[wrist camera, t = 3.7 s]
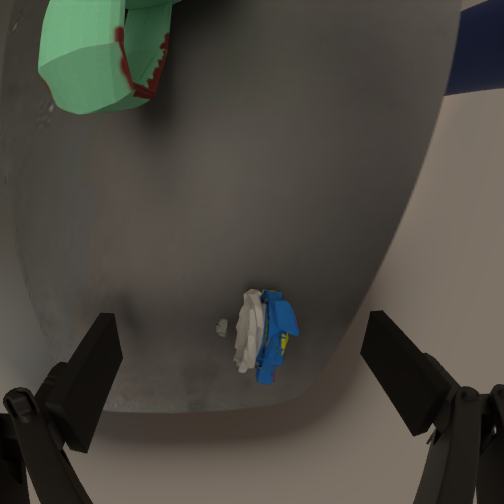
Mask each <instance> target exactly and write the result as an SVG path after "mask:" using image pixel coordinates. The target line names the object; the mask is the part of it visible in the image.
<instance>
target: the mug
mask: <svg viewBox="0 0 504 504" xmlns="http://www.w3.org/2000/svg"><path fill="white" fill-rule="evenodd" d="M180 1H182V0H50V2H49V5H48V8H47V11H46V14H45V18H44V21H43V26H42V34H41V42H40V51H39V62H38V72H39V74H40V76H41V78H42V79H43V81H44V83H45V85H46V87H47V89H48V90H49V92H50V94H51V96H52V98H53V99H54V101H55V103H56V105H57V106H58V107H59V108H61V109H63V110H65V111H68V112H71V113H75V114H89V113H101V112H115V111H122V110H127V109H132V108H136V107H138V106H140V105H142V104H144V103H146V102H148V101H150V100H151V99H152V98H154V97H155V94H156V90H157V86H158V83H159V79H160V75H161V72H162V68H163V65H164V62H165V59H166V55H167V52H168V43H169V31H170V21H171V12H172V5H174V4H176V3H178V2H180ZM125 9H129V10H128V14H127V18H126V22H125V26H124V21H125Z"/></svg>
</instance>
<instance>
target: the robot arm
mask: <svg viewBox="0 0 504 504" xmlns="http://www.w3.org/2000/svg"><path fill="white" fill-rule="evenodd" d="M360 354H361V355H362V357H363V358H364V360H365V361H366V363H367V364H368V366H369V368H370V369H371V371H372V372H373V373H374V375H375V377H376V378H377V380H378V381H379V383H380V384H381V386H382V388H383V389H384V391H385V392H386V394H387V395H388V397H389V398H390V400H391V402H392V403H393V405H394V406H395V408H396V409H397V411H398V413H399V414H400V416H401V417H402V419H403V421H404V422H405V424H406V425H407V427H408V429H409V430H410V432H411V434H412V435H413V436H416V435H420V434H422V433H425V432H427V431H428V429H429V428H430V426H431V424H432V423H433V424H434V426H435V427H436V429H435V430H434V432H433V433H432V435H431V436H430V438H429V440H428V441H427V443H426V444H429V442H430V441H431V444H430V448H429V452H428V456H427V460H426V464H425V467H424V471H423V474H422V477H421V481H420V484H419V487H418V490H417V493H416V496H415V499H414V502H413V504H473V498H474V493H475V486H476V495H477V504H504V385H502V384H497V385H495V386H494V387H493V389H492V391H491V392H490V394H479V392H477V391H476V390H475V389H473V388H471V387H466V386H463V387H461V386H460V385H459V384H458V383H457V382H456V381H455V380H454V379H453V378H452V377H451V375H450V374H449V373H448V372H447V371H446V370H445V369H444V368H443V366H442V365H441V366H440V363H439V362H438V361H437V360H436V359H435V358H434V357H432V356H431V355H429V354H427V353H422V352H421V351H420V350H419V349H418V348H417V347H416V346H415V344H413V342H412V341H411V340H410V339H409V338H408V337H407V336H406V335H405V334H404V333H403V331H402V330H401V329H400V328H399V327H398V326H397V325H396V324H395V323H394V322H393V321H392V320H391V319H390V318H389V317H388V316H387V315H386V314H385V313H384V311H383V310H381V311H371V312H370V316H369V320H368V324H367V329H366V333H365V337H364V341H363V345H362V348H361V352H360ZM122 359H123V355H122V351H121V346H120V342H119V337H118V332H117V327H116V321H115V316H114V314H113V313H100V314H99V316H98V317H97V319H96V320H95V322H94V323H93V325H92V326H91V328H90V329H89V331H88V332H87V334H86V335H85V337H84V338H83V340H82V341H81V343H80V344H79V346H78V348H77V349H76V351H75V352H74V354H73V355H72V357H71V359H70V360H69V362H68V363H66V362H59V363H58V364H57V365H55V366H54V367H53V368H52V369H51V371H50V372H49V374H48V376H47V377H46V379H45V380H44V383H42V385H41V386H40V388H39V390H38V391H37V393H36V395H35V396H33V394H32V393H31V391H30V390H28V389H27V388H22V387H19V388H14V389H12V390H10V391H9V392H8V393H7V394H6V395H5V397H4V398H3V404H4V406H5V408H6V410H7V411H8V413H9V414H2V413H0V504H30V499H29V492H28V485H27V475H26V468H27V470H28V473H29V475H30V478H31V481H32V483H33V486H34V488H35V491H36V494H37V496H38V498H39V501H40V503H41V504H93V503H92V501H91V499H90V498H89V496H88V495H87V493H86V491H85V489H84V487H83V486H82V484H81V482H80V481H79V479H78V477H77V475H76V473H75V471H74V469H73V467H72V466H71V463H70V461H69V459H68V457H67V455H66V453H65V451H64V450H63V446H64V443H65V441H66V443H67V445H68V446H69V448H70V450H74V451H79V452H82V453H87V452H88V449H89V446H90V443H91V440H92V437H93V435H94V432H95V429H96V426H97V423H98V421H99V418H100V415H101V412H102V410H103V407H104V404H105V402H106V399H107V397H108V394H109V391H110V389H111V386H112V384H113V381H114V379H115V376H116V374H117V371H118V369H119V366H120V364H121V362H122ZM495 427H496V433H495V431H494V428H495Z"/></svg>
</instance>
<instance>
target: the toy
mask: <svg viewBox="0 0 504 504" xmlns="http://www.w3.org/2000/svg"><path fill="white" fill-rule="evenodd" d="M239 316H240V318H239V320H238V323H237V325H236V329H237V337H236V342H235V348H236V349H237V351H236V354H235V357H234V360H233V361H235V362H236V365H237V366H238V367H239V369H238V371H239V372H240V373H245V372H246V371H247V369H248V368H254V367H256V368H257V371H256V378H257V381H258V382H261V383H264V384H267V385H269V384H270V383H272V382H273V381H274V372H275V367H276V366H282V363H283V360H284V350H285V347H286V344H287V342H288V339H289V338H288V334H289V333H290V334H292V335H294V336H297V337H298V336H299V326H298V322H297V319H296V315H295V312H294V310H293V308H292V306H291V304H290V303H289V302H288V301H285V300H282V293H281V292H279V291H275V290H266V289H264V291H263V290H262V293H261V292H260V291H259V290H255V289H250V290H249V291H247V292H246V293H244V305H243V306H242V308H241V311H240V313H239ZM216 325H218V326H216V327H217V328H216V330H217V332H218V334H219V336H223V337H225V335H226V330H227V319H223V318H221V321H219V323H218V324H216Z"/></svg>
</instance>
